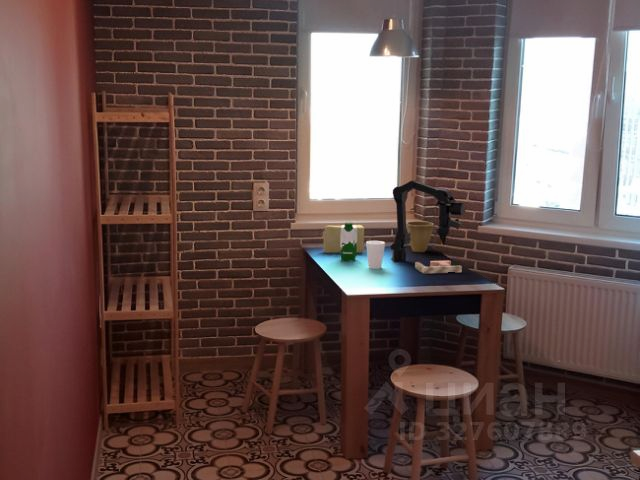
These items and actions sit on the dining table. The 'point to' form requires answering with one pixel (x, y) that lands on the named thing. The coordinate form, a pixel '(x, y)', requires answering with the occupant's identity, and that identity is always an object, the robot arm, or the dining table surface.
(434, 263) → the t block
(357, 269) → the dining table surface
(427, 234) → the plant pot
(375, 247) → the foam cup
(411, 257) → the dining table surface
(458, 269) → the wooden l block
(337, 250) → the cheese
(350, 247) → the milk carton
